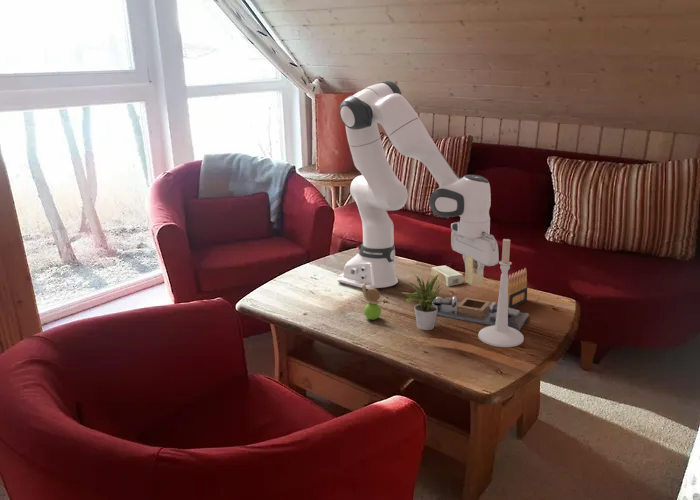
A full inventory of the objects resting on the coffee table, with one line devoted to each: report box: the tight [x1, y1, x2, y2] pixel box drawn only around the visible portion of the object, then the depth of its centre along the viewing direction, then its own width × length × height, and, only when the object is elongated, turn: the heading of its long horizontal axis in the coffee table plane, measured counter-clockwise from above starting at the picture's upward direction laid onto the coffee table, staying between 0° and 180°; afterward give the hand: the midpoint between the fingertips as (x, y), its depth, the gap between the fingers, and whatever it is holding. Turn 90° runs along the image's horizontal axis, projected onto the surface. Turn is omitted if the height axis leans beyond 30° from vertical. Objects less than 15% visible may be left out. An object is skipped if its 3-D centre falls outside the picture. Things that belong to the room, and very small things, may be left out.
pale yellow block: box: [464, 256, 485, 286], centre depth 180 cm, size 4×4×10 cm
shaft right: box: [489, 301, 521, 322], centre depth 179 cm, size 9×4×4 cm, turn 49°
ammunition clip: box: [508, 267, 528, 309], centre depth 190 cm, size 11×2×12 cm, turn 133°
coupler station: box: [436, 297, 529, 331], centre depth 185 cm, size 32×12×4 cm, turn 61°
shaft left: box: [433, 295, 458, 309], centre depth 187 cm, size 9×4×4 cm, turn 73°
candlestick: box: [477, 238, 525, 348], centre depth 164 cm, size 13×13×30 cm
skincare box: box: [430, 264, 464, 287], centre depth 214 cm, size 6×4×12 cm
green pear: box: [361, 282, 382, 321], centre depth 181 cm, size 5×6×12 cm
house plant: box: [399, 273, 447, 331], centre depth 176 cm, size 14×14×16 cm
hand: (473, 271), depth 180 cm, fingers closed on pale yellow block, 4 cm apart
